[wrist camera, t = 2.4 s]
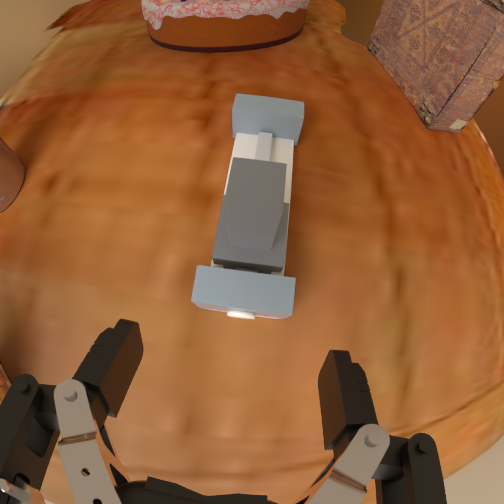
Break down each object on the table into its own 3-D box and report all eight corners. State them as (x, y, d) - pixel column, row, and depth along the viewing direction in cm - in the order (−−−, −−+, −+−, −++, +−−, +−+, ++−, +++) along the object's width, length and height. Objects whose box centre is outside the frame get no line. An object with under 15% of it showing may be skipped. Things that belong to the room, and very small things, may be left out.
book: (366, 47, 43) (401, -59, 15) (398, 54, 44) (437, -41, 16) (427, 130, 36) (510, 0, 7) (458, 134, 37) (537, 27, 8)
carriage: (278, 275, 26) (302, 233, 16) (215, 267, 26) (199, 219, 16) (284, 218, 28) (306, 152, 18) (225, 210, 28) (217, 141, 18)
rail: (282, 324, 26) (291, 320, 21) (199, 313, 26) (190, 307, 21) (297, 126, 34) (304, 99, 29) (237, 119, 34) (237, 91, 29)
